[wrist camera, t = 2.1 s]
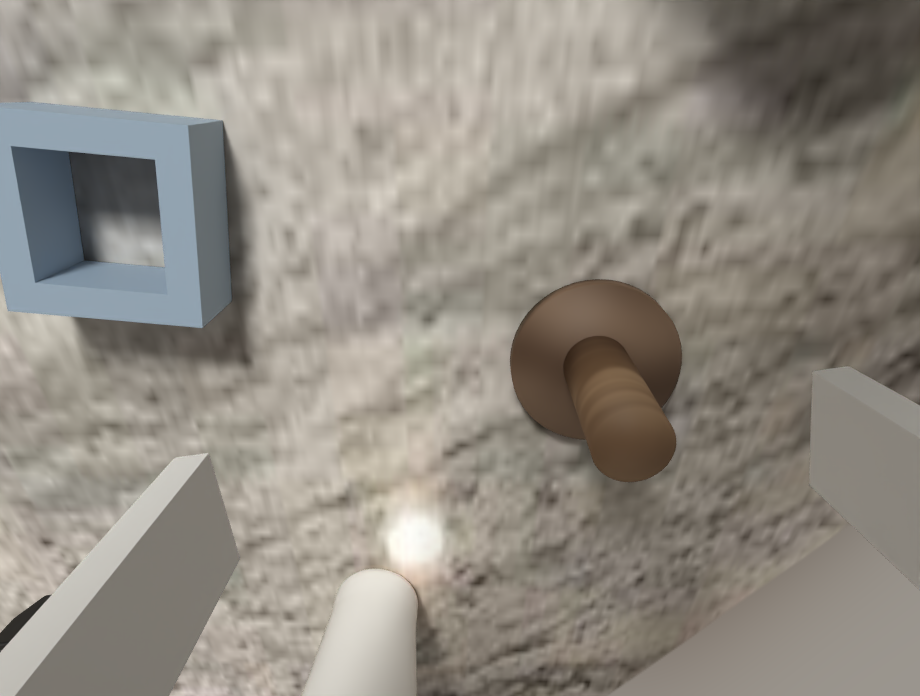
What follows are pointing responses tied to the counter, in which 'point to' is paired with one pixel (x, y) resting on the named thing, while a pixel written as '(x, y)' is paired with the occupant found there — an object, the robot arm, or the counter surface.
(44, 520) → the counter surface
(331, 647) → the drinking glass
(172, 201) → the collar
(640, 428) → the post
